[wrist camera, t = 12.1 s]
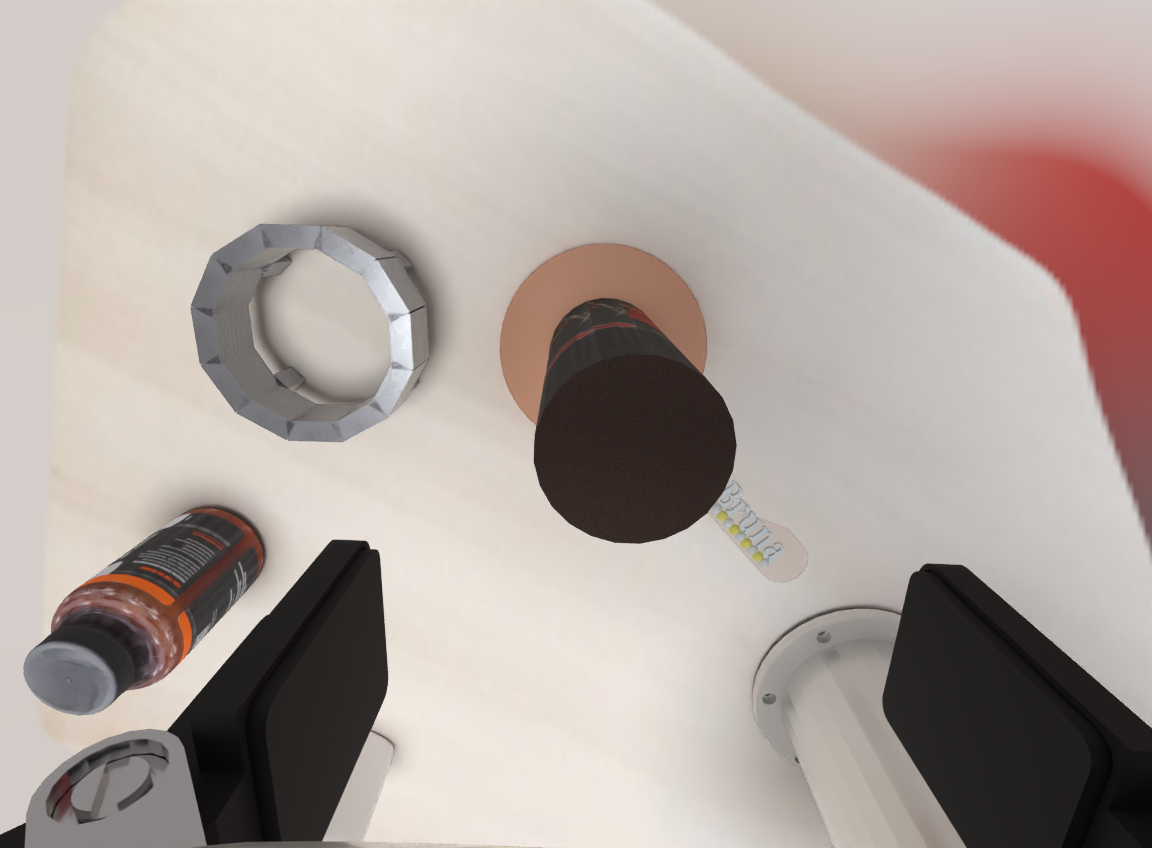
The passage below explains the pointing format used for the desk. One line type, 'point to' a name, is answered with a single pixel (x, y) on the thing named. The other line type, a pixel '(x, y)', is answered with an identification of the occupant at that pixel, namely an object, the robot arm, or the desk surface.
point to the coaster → (585, 280)
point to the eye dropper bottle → (361, 791)
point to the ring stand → (272, 396)
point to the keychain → (760, 539)
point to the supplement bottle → (144, 612)
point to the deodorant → (628, 428)
